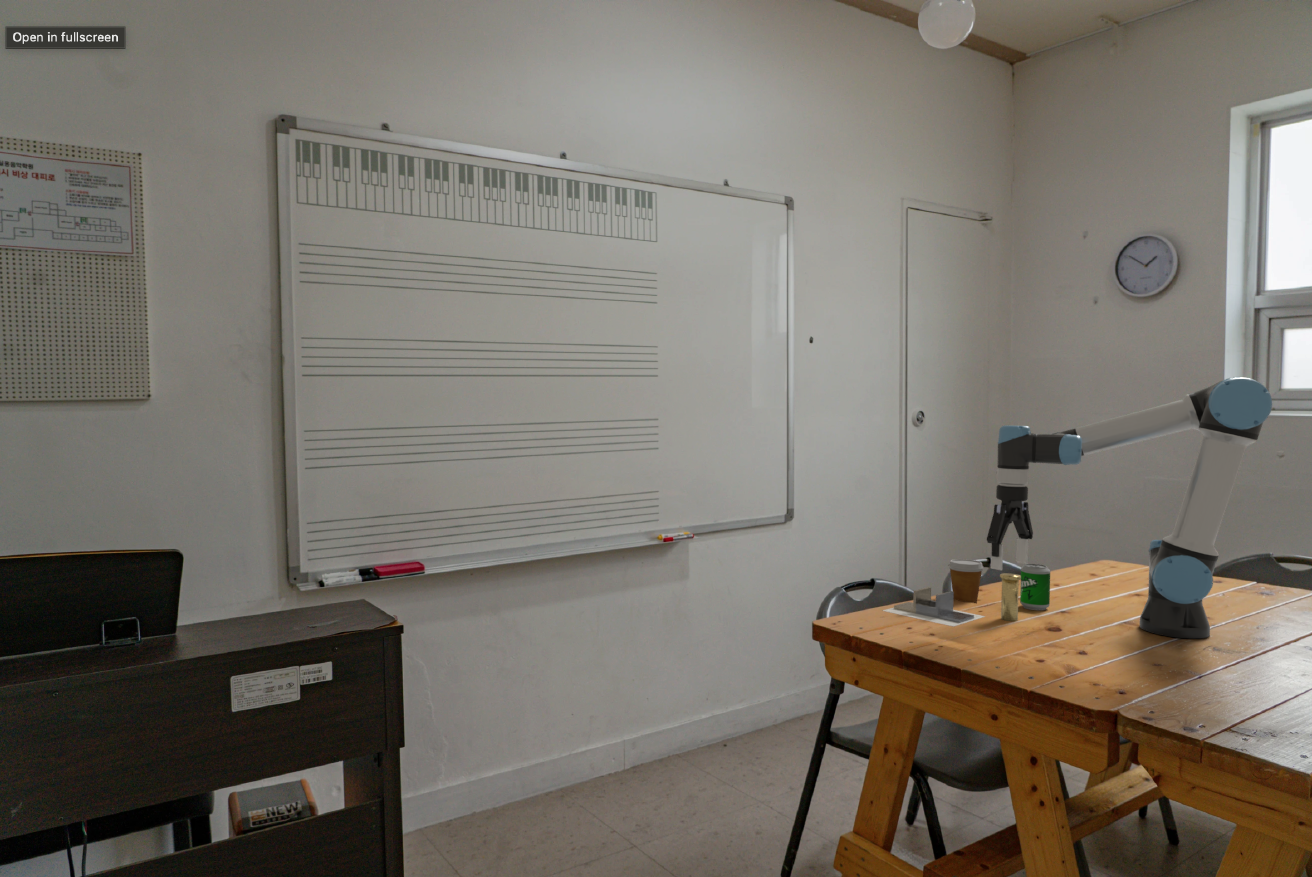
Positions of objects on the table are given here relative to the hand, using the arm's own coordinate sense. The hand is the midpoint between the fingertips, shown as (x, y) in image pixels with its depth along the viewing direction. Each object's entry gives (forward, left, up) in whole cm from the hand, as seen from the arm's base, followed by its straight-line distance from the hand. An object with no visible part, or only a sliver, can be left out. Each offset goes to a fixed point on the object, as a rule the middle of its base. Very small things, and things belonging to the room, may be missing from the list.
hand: (1009, 566), depth 215 cm
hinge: (+16, +10, -14) cm, 23 cm away
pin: (0, 0, -15) cm, 15 cm away
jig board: (+16, +10, -15) cm, 24 cm away
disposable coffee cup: (+19, -13, -15) cm, 28 cm away
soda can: (+4, -23, -15) cm, 28 cm away
